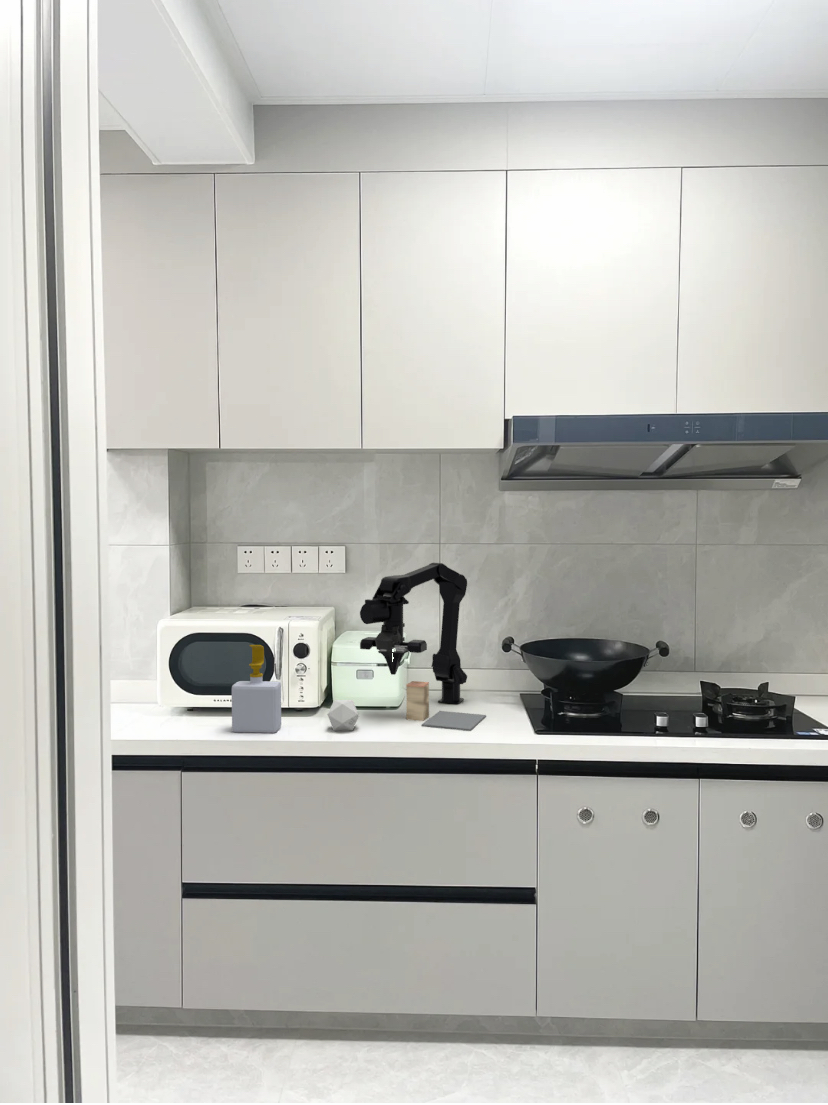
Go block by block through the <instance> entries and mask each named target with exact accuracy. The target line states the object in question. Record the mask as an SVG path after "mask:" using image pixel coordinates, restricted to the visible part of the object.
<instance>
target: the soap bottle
mask: <svg viewBox="0 0 828 1105" xmlns="http://www.w3.org/2000/svg"><path fill="white" fill-rule="evenodd" d="M249 647H250V648H251V652H252V655H251V657H252V658H251V663H249V664H248V666H249V667H250V669H252V672H251V673H250V674H249V679H250V680H240V681H237V682H235V683H234V684H232V686H231V730H232V732H233V733H264V734H268V733H269V734H273V733H274V734H275V733H277V732H278V731H279V730H280V728H282V684H281V682H280V681H270V680H269V681H266V680H265V681H263V676H264V674H263V673H262V672H260V669H262V667H263V666H262V665H264V664H265V648H264V646H263V645H261V644H249Z"/></svg>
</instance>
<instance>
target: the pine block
mask: <svg viewBox="0 0 828 1105" xmlns="http://www.w3.org/2000/svg"><path fill="white" fill-rule="evenodd" d="M405 685H406V720H408V719H409V720H410V721H419V722H421V721H424V722H425V721H426V720H427V719H429V718H430V681H429V682H428V681H418V680H417V681H416V680H412V681H410V682H408V683H406V684H405Z"/></svg>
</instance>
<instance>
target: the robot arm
mask: <svg viewBox="0 0 828 1105" xmlns="http://www.w3.org/2000/svg"><path fill="white" fill-rule="evenodd" d="M431 580H433V581H434V582H435V583H436V584H437V585H438V587H439V590H438V591H439V595H440V597H441V599H442V601H443V605H442V607H443V608H442V620H441V632H440V633H441V634H440V643H439V644H440V646H439V649H438V650H437V652H436V653H433V654H432V656H431V657H432V662H431V665H430V666H431V667H432V673H434V677H435V681H437V682H441V698H440V699H438V701H437V703H441V704H451V705H452V704H453V705H459V704H460V703H461V702H463V701H464V699H465V698H464V697H461V685H464V684H466V683H467V679H468V675H467V673H466V672H465V671H464V670H463V669H462V666H461V658H460V655H459V653H458V651H457V644H458V631H459V616H460V605H461V602H462V600H463V599H464V598H465V596H466V593H467V587H468V580H467V578H466V577H465V575H464V574H461V573H459V572H458V571H456V570H453V569H452V568H450V567H448V566H447V565H446V564H444V563H441V562H431V563H429V564H427V565H425V566H422V567H420V568H417V569H415V570H412V571H410V572H407V573H405V574H397V575H388V576H384V577H382V579H381V581H380V584H379V586H378V587H377V589H376V591H375V593H374V595H373V596H372V599H368V598H367V599H365V600H364V604H363V605H362V606H361V608H360V610H359V616H360V620H361V621H362V622H363V624H366V625H371V624H379V623H383V624H382V625H381V630H380V632H379V633H378V634H377V635H376V637H375V636H366V637H365V638H362V639H361V640H360V642H359V649H360V650H371V649H372V648H374V647H375V648H376V650H377V652H378V654H381V655H382V656H383V657H384V659H385V661H386V665H387V666H388V669H389V672H390V675H391V676H393V675H394V676H395V675H396V674H397V672H398V669H399V667H400V665H401V661H402V659H403V657H404V655H405V654H407V653H408V652H409V653H415V654H420V653H423V652H425V651H427V650H428V649H427V648H428V643H427V641H426V640H425V639H424V640H422V639H412V640H410V641H405V639H406V638H405V636H404V628H405V623H404V605H409V604H410V601H409V600H407V598H405V596H406V595H408V594H409V593H410V592H411V591H412V589H414V588H415V587H418V586H420V585H422V584H425V583H428V582H430V581H431ZM392 649H394V652H392ZM392 653H393V657H394V659H393V662H392Z"/></svg>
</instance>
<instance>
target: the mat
mask: <svg viewBox="0 0 828 1105" xmlns="http://www.w3.org/2000/svg"><path fill="white" fill-rule="evenodd" d="M486 717H487V715H486V714H479V713H471V712H470V713H469V712H457V711H447V710H446V711H445V710H439V711H437V712H436V713H435V714H434V715H432V716H431V717H428V718H427V719H426V720H424V722H422V723H421V727H425V728H436V729H437V728H438V729H444V730H445V729H448V730H456V731H457V730H458V731H466V732H467V731H468V732H471V731H472V730H473V729H475V728H476V727H477V726H478V725H479V724H480V723H481V722H482V721H483V720H484V719H485V718H486Z"/></svg>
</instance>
